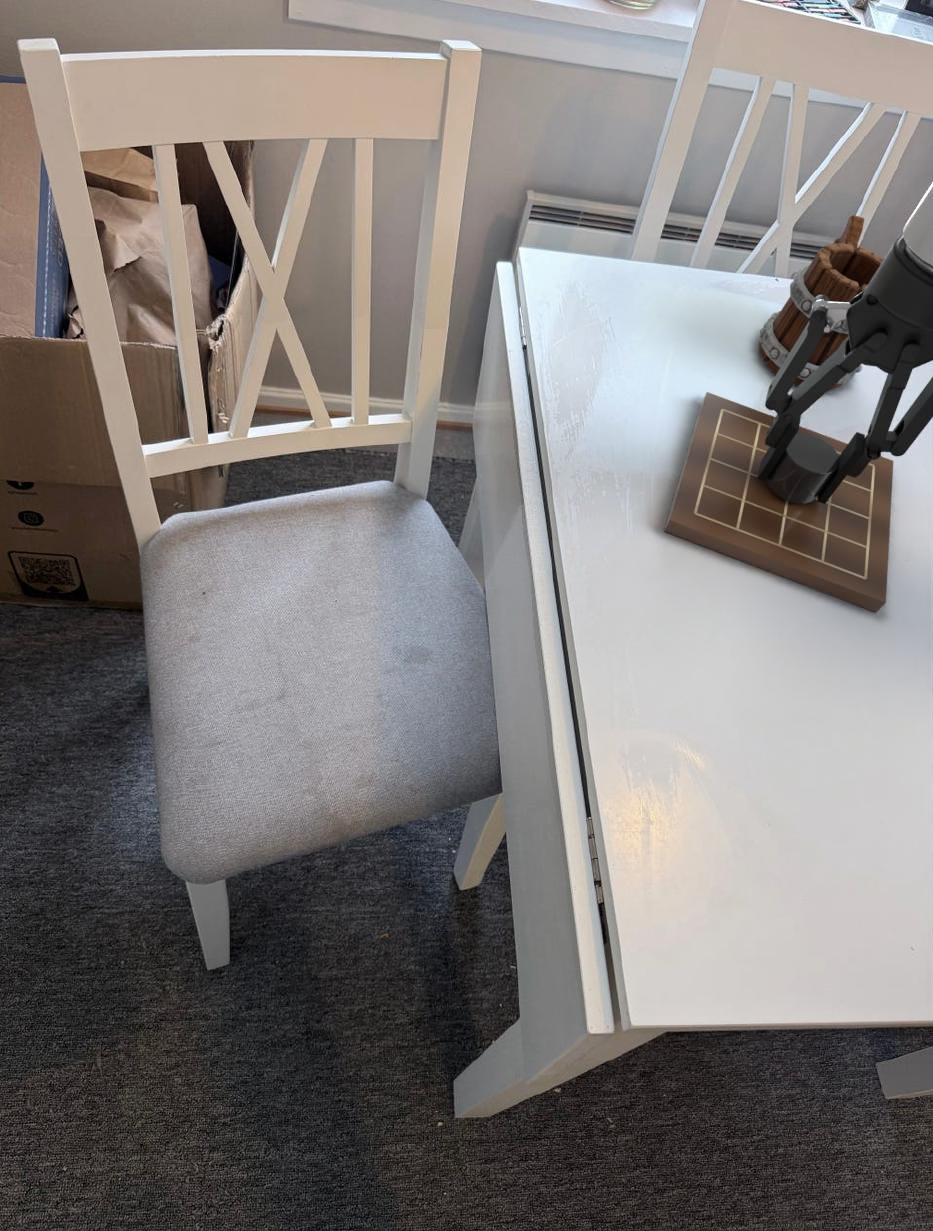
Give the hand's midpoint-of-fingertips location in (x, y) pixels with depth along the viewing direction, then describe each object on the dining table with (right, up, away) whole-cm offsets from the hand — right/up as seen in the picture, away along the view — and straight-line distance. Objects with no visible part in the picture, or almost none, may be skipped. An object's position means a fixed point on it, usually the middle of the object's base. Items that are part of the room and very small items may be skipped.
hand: (792, 481), depth 79 cm
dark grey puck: (0, 0, 0) cm, 0 cm away
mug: (+7, +17, +17) cm, 26 cm away
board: (0, -1, +2) cm, 2 cm away
